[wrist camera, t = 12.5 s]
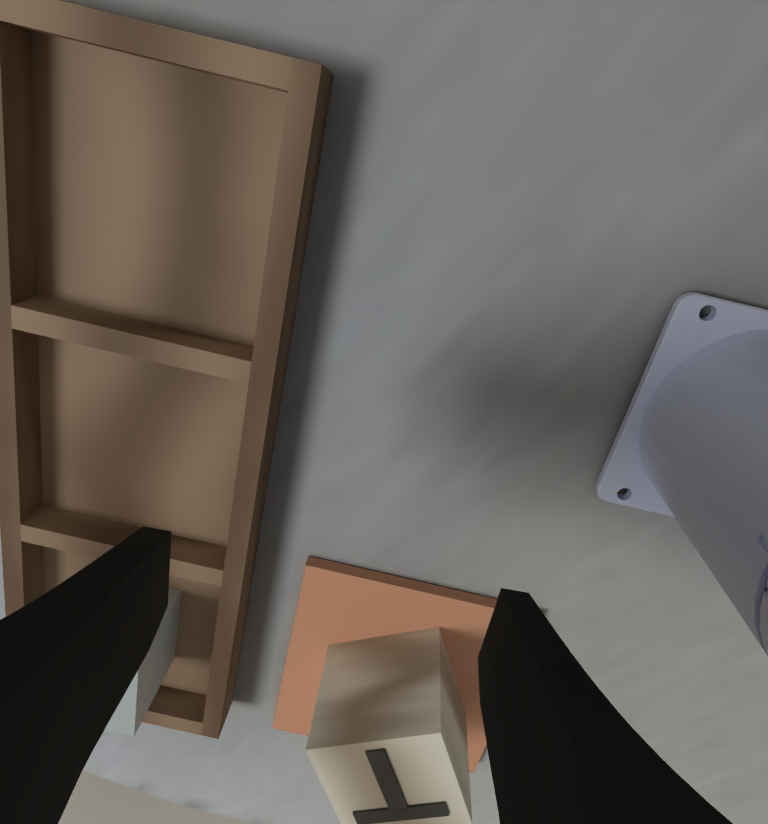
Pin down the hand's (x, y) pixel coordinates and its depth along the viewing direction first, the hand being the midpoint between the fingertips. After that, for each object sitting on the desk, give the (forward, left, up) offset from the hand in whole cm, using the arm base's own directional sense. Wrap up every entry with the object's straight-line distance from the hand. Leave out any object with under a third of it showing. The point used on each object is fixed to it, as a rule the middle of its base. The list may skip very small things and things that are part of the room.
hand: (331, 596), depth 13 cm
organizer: (+8, +3, -10) cm, 13 cm away
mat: (-4, +12, -10) cm, 16 cm away
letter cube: (-4, +12, -9) cm, 16 cm away
